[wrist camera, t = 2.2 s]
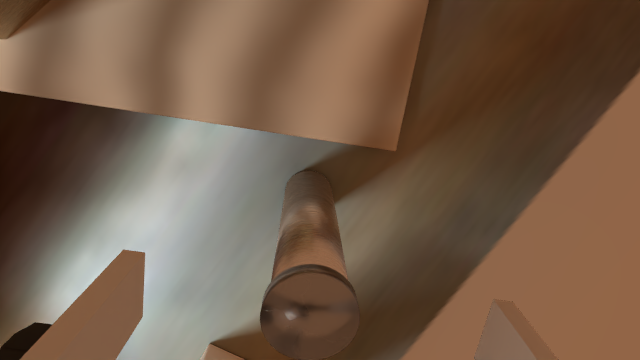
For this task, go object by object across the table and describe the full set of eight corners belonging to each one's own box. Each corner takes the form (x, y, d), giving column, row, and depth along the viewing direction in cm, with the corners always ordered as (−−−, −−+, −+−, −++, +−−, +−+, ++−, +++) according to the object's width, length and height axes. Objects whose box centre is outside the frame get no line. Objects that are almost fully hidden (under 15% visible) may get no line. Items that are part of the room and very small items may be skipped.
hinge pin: (279, 213, 29) (254, 355, 15) (286, 163, 28) (266, 269, 14) (330, 220, 29) (349, 365, 16) (339, 171, 28) (368, 282, 15)
